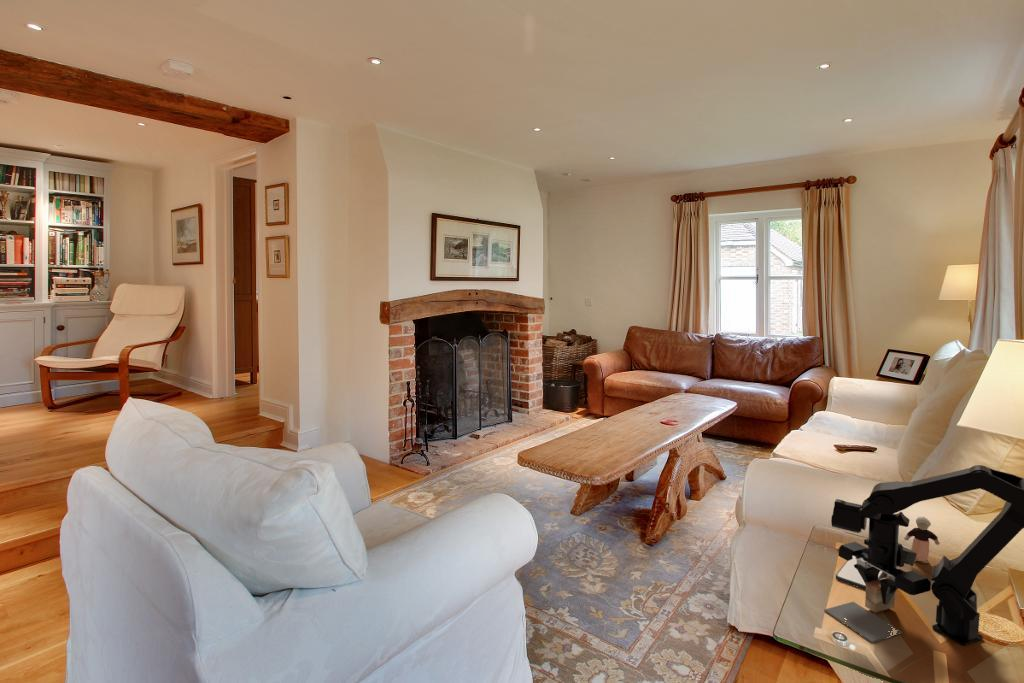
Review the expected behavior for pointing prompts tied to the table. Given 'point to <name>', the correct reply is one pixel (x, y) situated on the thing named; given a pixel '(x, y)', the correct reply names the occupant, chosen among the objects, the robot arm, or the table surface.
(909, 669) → the table surface
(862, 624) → the felt mat
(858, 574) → the phone case
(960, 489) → the robot arm
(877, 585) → the birch block
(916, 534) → the grandmother figurine
